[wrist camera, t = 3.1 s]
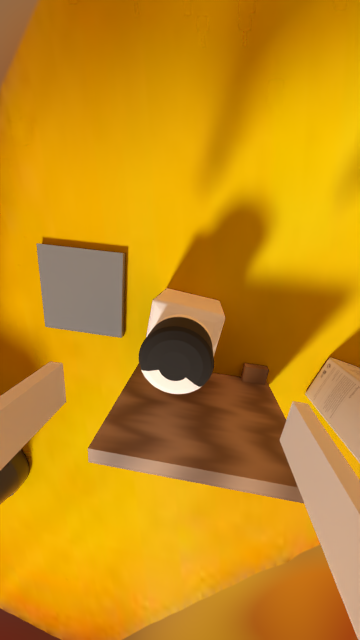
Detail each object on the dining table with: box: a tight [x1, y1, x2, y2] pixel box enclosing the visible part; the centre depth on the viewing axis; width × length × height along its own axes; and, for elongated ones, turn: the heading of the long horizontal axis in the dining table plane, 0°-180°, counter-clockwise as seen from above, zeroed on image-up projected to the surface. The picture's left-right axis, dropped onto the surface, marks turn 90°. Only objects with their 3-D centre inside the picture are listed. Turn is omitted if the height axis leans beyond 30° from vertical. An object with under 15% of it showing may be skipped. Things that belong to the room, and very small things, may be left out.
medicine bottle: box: [139, 288, 225, 394], centre depth 21 cm, size 7×7×12 cm
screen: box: [88, 363, 304, 503], centre depth 22 cm, size 18×6×14 cm, turn 84°
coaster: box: [37, 243, 125, 338], centre depth 27 cm, size 11×11×1 cm
